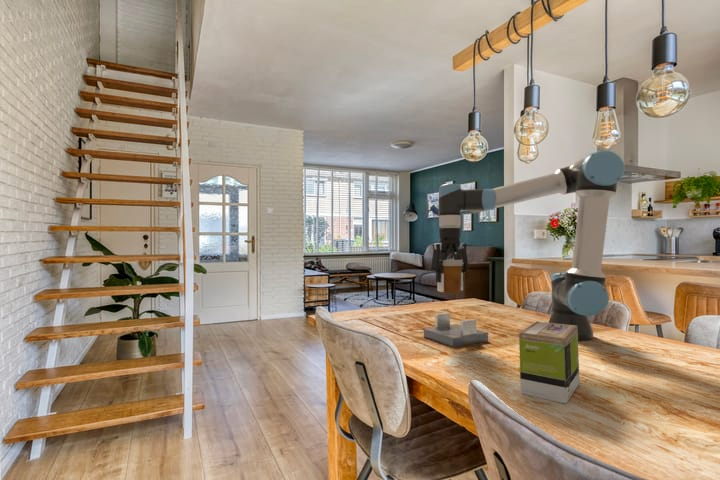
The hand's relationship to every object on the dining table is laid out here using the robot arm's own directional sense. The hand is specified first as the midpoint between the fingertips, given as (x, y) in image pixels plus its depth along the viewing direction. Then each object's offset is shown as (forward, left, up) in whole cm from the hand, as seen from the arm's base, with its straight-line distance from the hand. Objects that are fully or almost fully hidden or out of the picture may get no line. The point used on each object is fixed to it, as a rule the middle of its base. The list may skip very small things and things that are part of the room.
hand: (450, 290), depth 139 cm
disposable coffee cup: (0, 0, -1) cm, 1 cm away
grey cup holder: (0, -2, -18) cm, 18 cm away
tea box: (-47, +10, -18) cm, 51 cm away
